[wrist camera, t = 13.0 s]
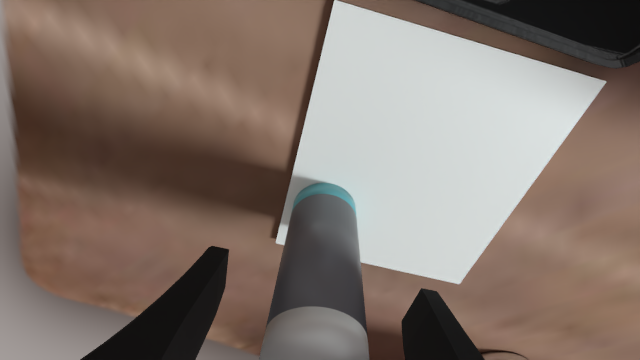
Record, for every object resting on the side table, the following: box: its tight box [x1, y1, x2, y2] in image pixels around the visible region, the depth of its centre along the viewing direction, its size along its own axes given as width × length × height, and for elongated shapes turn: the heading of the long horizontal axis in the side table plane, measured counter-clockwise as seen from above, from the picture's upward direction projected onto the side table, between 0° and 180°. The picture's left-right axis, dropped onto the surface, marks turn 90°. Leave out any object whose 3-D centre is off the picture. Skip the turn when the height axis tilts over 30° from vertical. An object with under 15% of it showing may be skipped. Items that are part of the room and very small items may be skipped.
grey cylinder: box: [259, 183, 369, 360], centre depth 12 cm, size 3×3×8 cm
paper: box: [276, 0, 607, 284], centre depth 14 cm, size 11×12×1 cm
